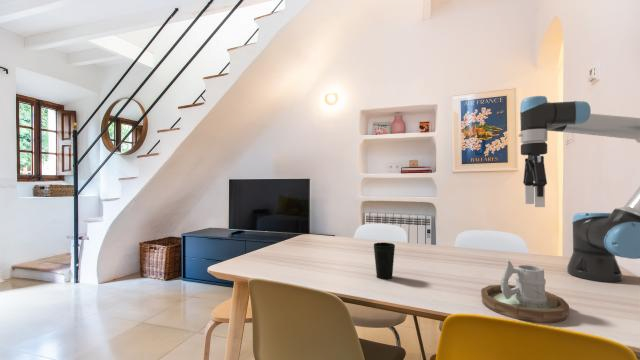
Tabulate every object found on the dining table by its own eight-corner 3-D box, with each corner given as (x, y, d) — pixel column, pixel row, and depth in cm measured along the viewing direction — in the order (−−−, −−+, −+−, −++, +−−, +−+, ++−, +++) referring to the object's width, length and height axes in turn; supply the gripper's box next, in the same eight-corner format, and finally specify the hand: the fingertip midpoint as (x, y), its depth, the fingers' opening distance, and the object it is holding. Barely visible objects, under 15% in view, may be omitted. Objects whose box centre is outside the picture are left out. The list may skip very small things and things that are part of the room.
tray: (554, 299, 94) (554, 289, 94) (579, 328, 75) (579, 316, 75) (479, 290, 101) (479, 281, 101) (485, 315, 83) (485, 304, 83)
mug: (554, 308, 84) (553, 263, 84) (509, 308, 84) (508, 263, 84) (535, 298, 91) (534, 256, 91) (493, 298, 92) (493, 256, 92)
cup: (397, 275, 118) (396, 243, 118) (392, 281, 111) (392, 247, 111) (376, 273, 121) (376, 241, 121) (371, 278, 114) (371, 245, 114)
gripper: (514, 147, 120) (514, 202, 120) (529, 139, 97) (529, 208, 97) (537, 146, 118) (537, 203, 118) (558, 138, 94) (559, 208, 95)
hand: (534, 205), depth 107 cm, fingers open, 13 cm apart
